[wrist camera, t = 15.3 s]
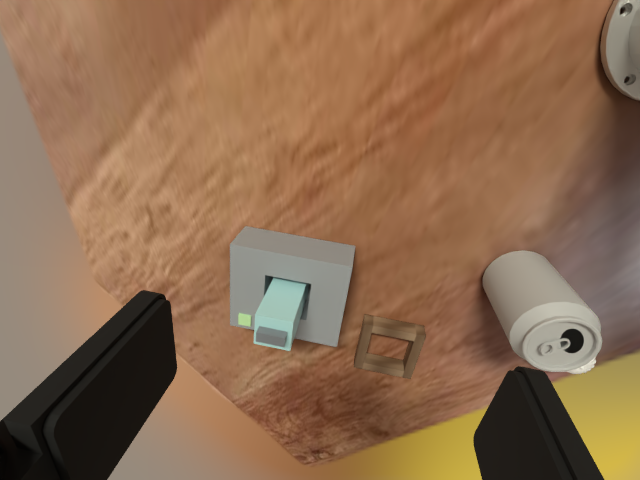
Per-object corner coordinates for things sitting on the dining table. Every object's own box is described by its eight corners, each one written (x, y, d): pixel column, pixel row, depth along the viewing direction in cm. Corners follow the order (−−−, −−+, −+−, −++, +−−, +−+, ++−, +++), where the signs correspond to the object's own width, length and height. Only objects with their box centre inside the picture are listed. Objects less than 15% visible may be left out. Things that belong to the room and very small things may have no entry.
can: (553, 293, 41) (614, 372, 30) (486, 306, 43) (521, 384, 32) (545, 239, 38) (611, 306, 27) (474, 256, 40) (509, 323, 29)
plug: (310, 270, 43) (291, 328, 33) (307, 295, 45) (287, 358, 35) (280, 264, 43) (251, 320, 34) (278, 289, 45) (250, 350, 36)
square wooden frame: (424, 325, 45) (425, 336, 44) (409, 367, 49) (410, 379, 47) (364, 314, 46) (364, 323, 44) (354, 356, 50) (353, 367, 48)
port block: (355, 246, 42) (352, 268, 37) (340, 321, 47) (336, 348, 43) (245, 226, 43) (229, 245, 38) (243, 301, 48) (229, 326, 44)
